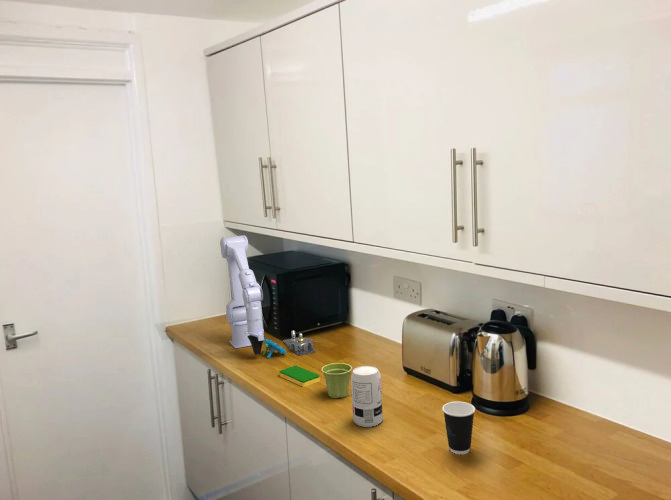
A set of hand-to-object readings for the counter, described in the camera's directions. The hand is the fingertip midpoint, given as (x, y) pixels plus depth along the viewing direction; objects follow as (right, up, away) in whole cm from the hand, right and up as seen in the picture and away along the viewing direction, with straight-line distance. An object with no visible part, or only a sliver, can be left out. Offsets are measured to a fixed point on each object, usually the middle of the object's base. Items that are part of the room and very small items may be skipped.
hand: (257, 354), depth 219 cm
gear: (+6, -1, +3) cm, 7 cm away
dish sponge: (+17, -5, -20) cm, 27 cm away
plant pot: (+30, -7, -36) cm, 47 cm away
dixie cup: (+60, -11, -73) cm, 95 cm away
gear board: (+15, +1, +11) cm, 18 cm away
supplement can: (+38, -9, -55) cm, 67 cm away
